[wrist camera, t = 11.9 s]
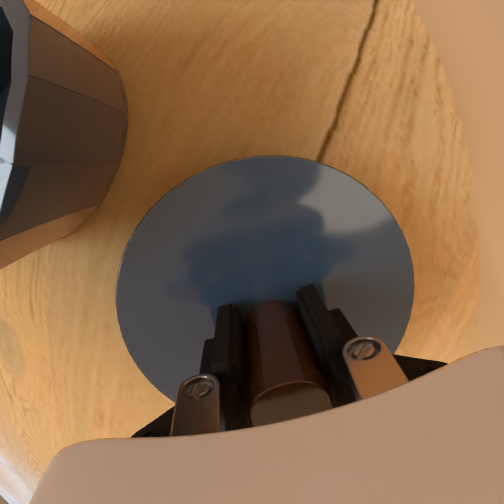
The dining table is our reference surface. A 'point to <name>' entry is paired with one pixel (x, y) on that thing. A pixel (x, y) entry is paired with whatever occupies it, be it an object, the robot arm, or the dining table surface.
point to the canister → (53, 128)
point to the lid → (261, 275)
